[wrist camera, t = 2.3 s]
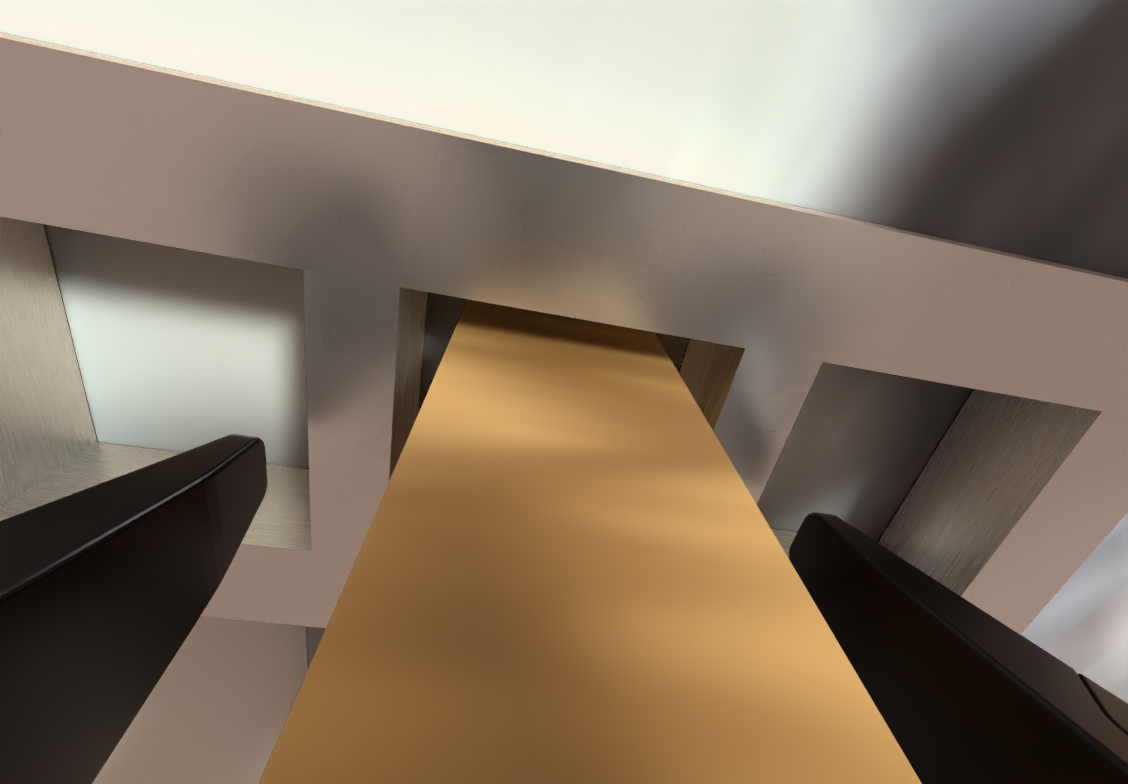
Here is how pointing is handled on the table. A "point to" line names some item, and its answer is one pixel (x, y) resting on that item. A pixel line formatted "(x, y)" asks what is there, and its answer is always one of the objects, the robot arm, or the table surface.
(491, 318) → the peg
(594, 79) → the table surface
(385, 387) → the grey flat frame
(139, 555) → the robot arm
